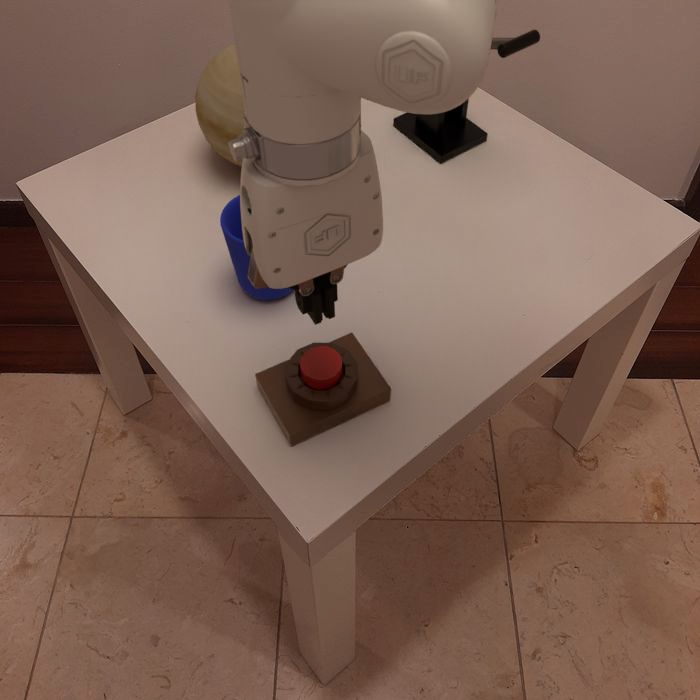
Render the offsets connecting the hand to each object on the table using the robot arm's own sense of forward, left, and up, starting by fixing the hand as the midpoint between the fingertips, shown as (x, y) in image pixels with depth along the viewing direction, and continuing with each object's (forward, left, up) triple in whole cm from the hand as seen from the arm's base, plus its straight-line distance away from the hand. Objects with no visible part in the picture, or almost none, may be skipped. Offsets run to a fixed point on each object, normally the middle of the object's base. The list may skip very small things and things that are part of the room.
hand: (317, 309), depth 64 cm
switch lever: (-10, -40, +1) cm, 41 cm away
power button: (0, 0, -10) cm, 10 cm away
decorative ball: (+16, -35, -13) cm, 41 cm away
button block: (0, 0, -13) cm, 13 cm away
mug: (+8, -15, -13) cm, 22 cm away
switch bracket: (-6, -44, -13) cm, 46 cm away
